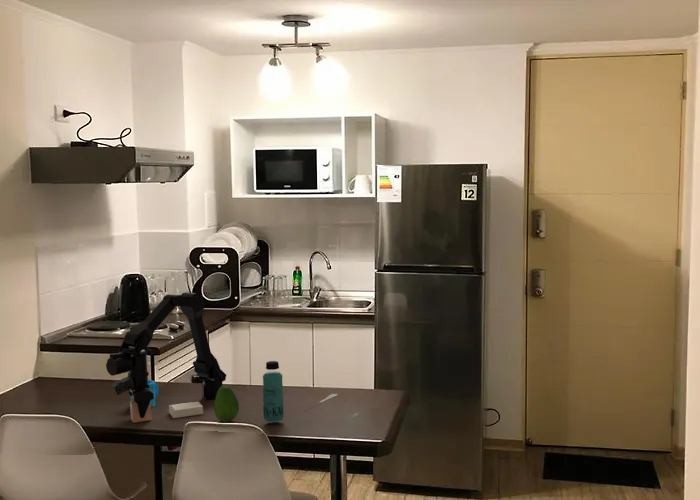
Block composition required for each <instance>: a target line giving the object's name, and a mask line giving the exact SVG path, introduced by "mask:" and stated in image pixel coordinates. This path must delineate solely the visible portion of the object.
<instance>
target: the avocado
mask: <svg viewBox="0 0 700 500" xmlns="http://www.w3.org/2000/svg"><path fill="white" fill-rule="evenodd" d="M239 405H240V403H239V400H238V398H237V396H236V393H235V392H234V390H233V388H231V387H230V386H229V385H226V384H224V385H222V386H221V387H220V388H219V390H218V392H217V396H216V399H214V403H213V409H214V414H215V416H216V418H217V419H218V421H220V422H222V423H229V422H231V421H233V420H234V419H235V418H236V417H237V416H238V413H239V410H240V407H239Z"/></svg>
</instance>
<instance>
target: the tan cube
mask: <svg viewBox="0 0 700 500" xmlns="http://www.w3.org/2000/svg"><path fill="white" fill-rule="evenodd" d="M129 408H130V409H129V411H130V420H131V422H132V423H134V424H135V423H140V422H146V421H152V420H153V417H152V407H151V402H150V404H149V406H148V408H147V411H146V414H145V416H144V418H141V417H140V414H139V410H138V406H137V403H136V402H134V401H133V400H132V401H131V400H130V401H129Z"/></svg>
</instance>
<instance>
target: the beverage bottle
mask: <svg viewBox="0 0 700 500" xmlns="http://www.w3.org/2000/svg"><path fill="white" fill-rule="evenodd" d="M265 369H266V370H268V371H266V372H265V373H264V374H263V375H262V385H263V386H262V388H263V389H262V393H263V395H262V396H263V399H262V401H263V403H262V406H263V407H262V409H263V410H262V411H263V419H264V421H266V422H270V423H271V422H279V421H283V419H284V415H285V414H284V413H285V412H284V391H283V385H284V384H283V374H282V373H281V372H280V371H278V370H279V369H280V365H279V361H277V360H269V361H266V364H265Z"/></svg>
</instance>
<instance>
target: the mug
mask: <svg viewBox="0 0 700 500" xmlns="http://www.w3.org/2000/svg"><path fill="white" fill-rule="evenodd" d="M148 384H149V388H145V389H150V390H151V391H152V392H153V393H154V399H153V400H151V401H150V402H151V408H153V407H155V406H156V399H157V397H158V395H159V390H160V389H159V385H158V384H157V383H156V382H155V381H154V380H152V379H148ZM132 399H133V397H132V396H131V395H130V401H132Z"/></svg>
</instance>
